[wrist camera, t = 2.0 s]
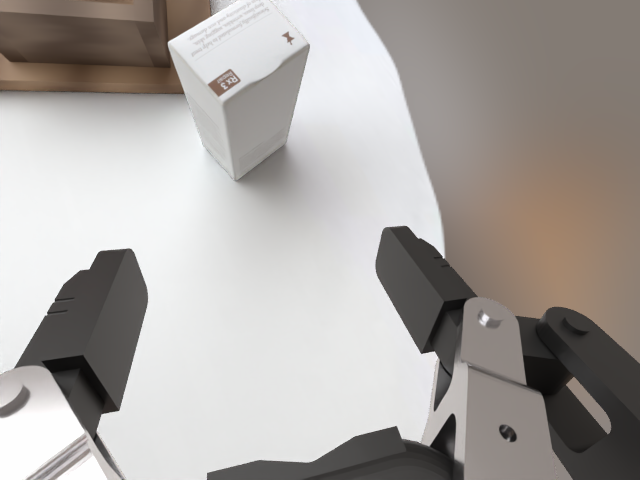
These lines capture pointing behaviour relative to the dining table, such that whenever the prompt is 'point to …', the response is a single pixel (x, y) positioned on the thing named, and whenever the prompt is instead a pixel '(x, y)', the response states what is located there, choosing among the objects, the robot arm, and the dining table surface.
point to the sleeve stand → (94, 44)
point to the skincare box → (241, 81)
